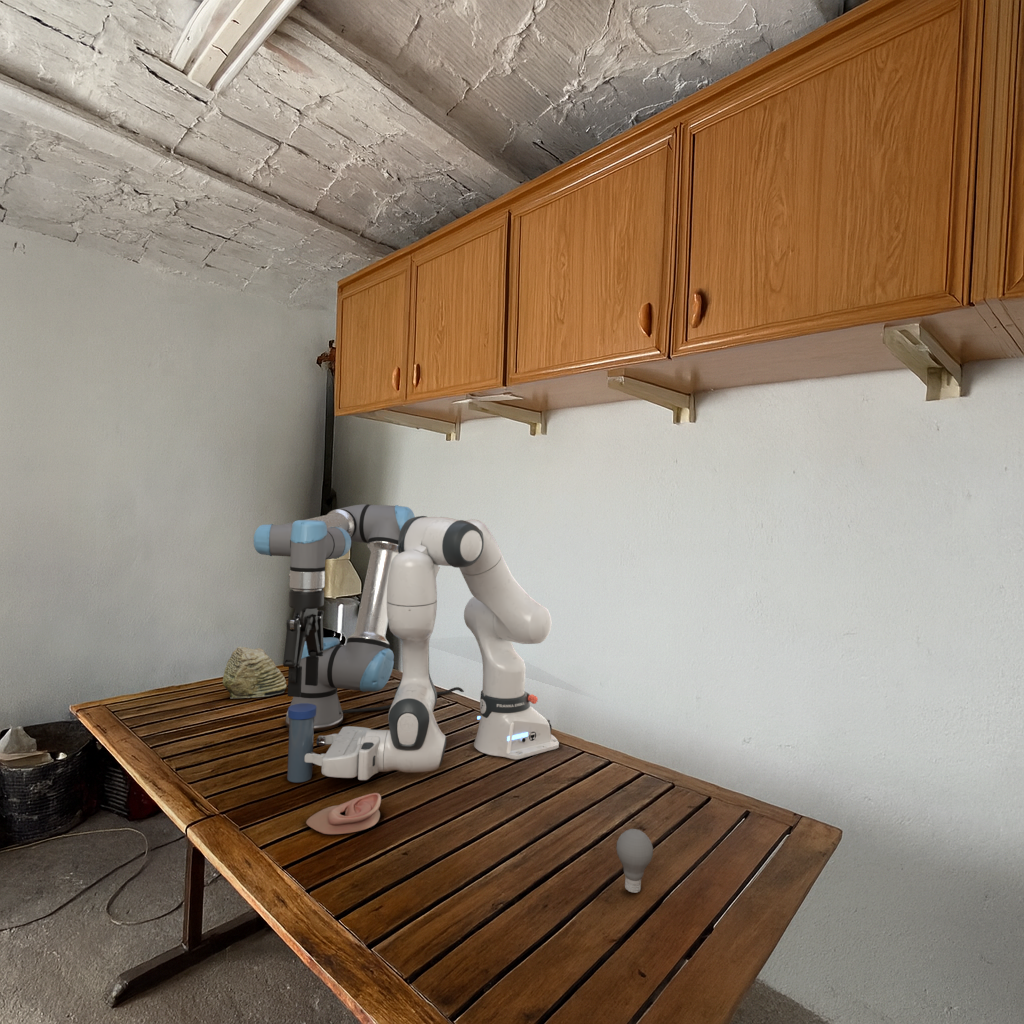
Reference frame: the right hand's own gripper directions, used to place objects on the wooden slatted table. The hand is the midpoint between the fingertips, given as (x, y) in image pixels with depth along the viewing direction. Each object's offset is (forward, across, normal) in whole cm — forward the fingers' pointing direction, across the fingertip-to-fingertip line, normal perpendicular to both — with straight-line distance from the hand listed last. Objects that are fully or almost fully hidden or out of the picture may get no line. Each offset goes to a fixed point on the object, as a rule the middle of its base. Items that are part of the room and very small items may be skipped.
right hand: (311, 748), depth 142 cm
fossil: (+33, -57, +7) cm, 66 cm away
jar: (+2, 0, +7) cm, 7 cm away
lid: (+2, 0, -9) cm, 9 cm away
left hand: (+2, 0, -13) cm, 13 cm away
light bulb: (-64, +39, +7) cm, 75 cm away
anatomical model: (-12, +19, +7) cm, 23 cm away
